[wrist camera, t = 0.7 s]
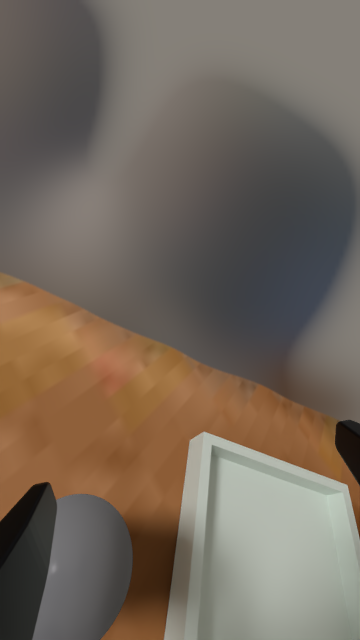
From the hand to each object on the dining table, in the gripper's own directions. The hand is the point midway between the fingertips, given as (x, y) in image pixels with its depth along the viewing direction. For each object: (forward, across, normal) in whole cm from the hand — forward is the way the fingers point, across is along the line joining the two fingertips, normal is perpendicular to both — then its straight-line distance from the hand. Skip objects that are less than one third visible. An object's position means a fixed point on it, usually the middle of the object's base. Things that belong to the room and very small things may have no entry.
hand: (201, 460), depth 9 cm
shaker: (+6, +9, +11) cm, 15 cm away
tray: (+7, -5, +19) cm, 21 cm away
